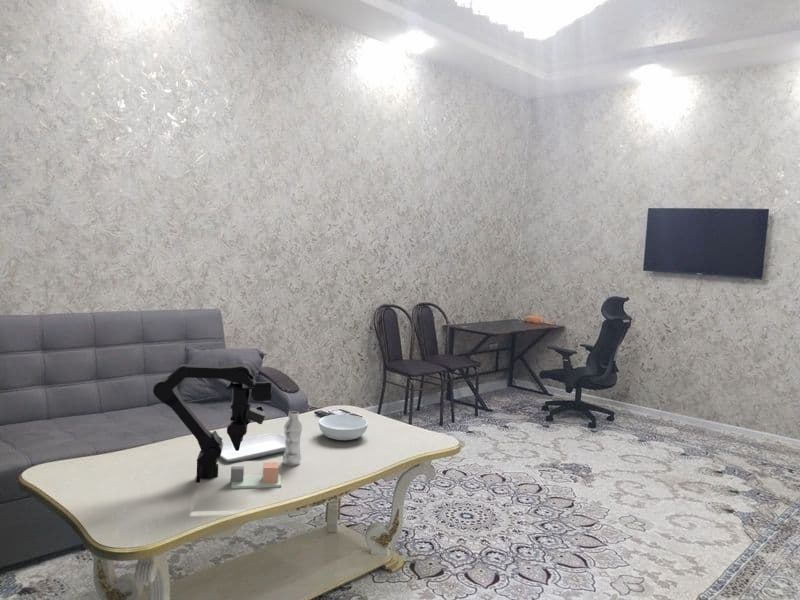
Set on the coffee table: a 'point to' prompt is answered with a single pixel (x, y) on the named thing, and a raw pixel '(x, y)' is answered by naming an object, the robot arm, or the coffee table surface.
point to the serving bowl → (343, 426)
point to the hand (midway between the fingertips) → (238, 445)
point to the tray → (254, 447)
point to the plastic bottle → (292, 440)
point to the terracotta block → (270, 472)
